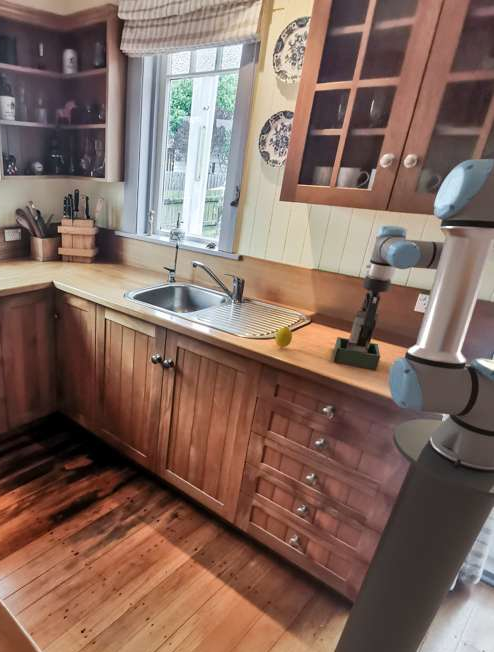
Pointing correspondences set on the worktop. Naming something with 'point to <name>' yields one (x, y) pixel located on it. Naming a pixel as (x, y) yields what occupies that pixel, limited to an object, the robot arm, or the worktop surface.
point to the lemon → (283, 337)
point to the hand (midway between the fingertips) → (359, 339)
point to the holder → (356, 355)
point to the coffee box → (356, 332)
